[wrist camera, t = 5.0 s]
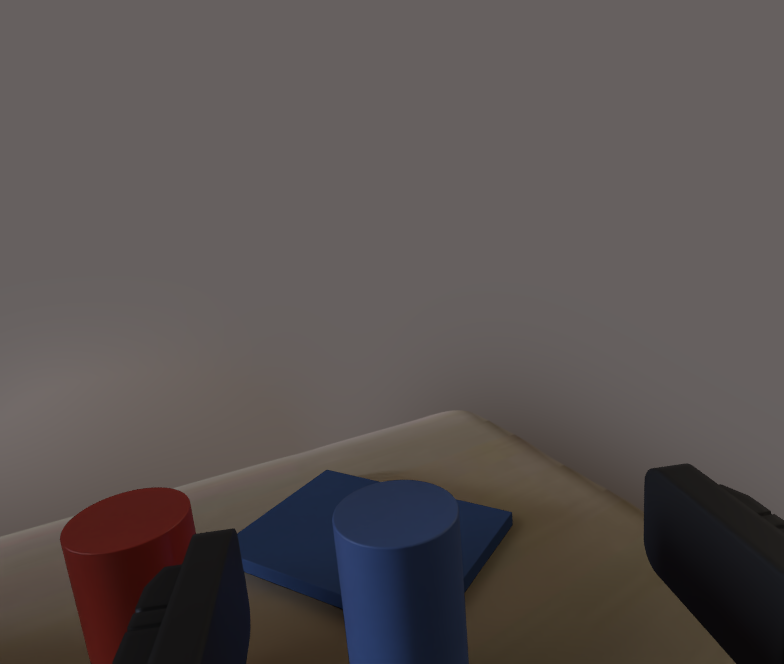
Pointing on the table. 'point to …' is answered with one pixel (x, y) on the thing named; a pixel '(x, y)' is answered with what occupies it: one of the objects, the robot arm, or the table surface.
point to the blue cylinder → (401, 574)
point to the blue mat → (317, 545)
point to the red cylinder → (122, 558)
